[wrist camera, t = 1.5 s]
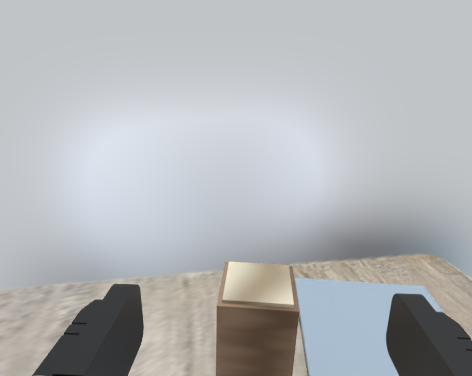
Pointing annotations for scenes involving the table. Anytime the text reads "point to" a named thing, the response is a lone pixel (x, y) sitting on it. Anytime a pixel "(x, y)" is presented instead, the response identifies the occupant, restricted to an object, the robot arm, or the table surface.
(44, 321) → the table surface
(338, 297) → the mat
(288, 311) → the walnut block
